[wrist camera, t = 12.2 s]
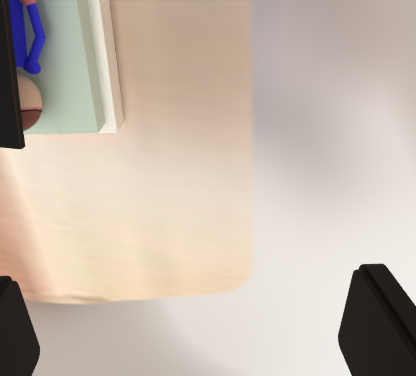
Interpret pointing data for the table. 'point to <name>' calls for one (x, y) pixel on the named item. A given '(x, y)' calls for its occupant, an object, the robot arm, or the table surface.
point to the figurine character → (14, 81)
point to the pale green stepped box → (76, 68)
